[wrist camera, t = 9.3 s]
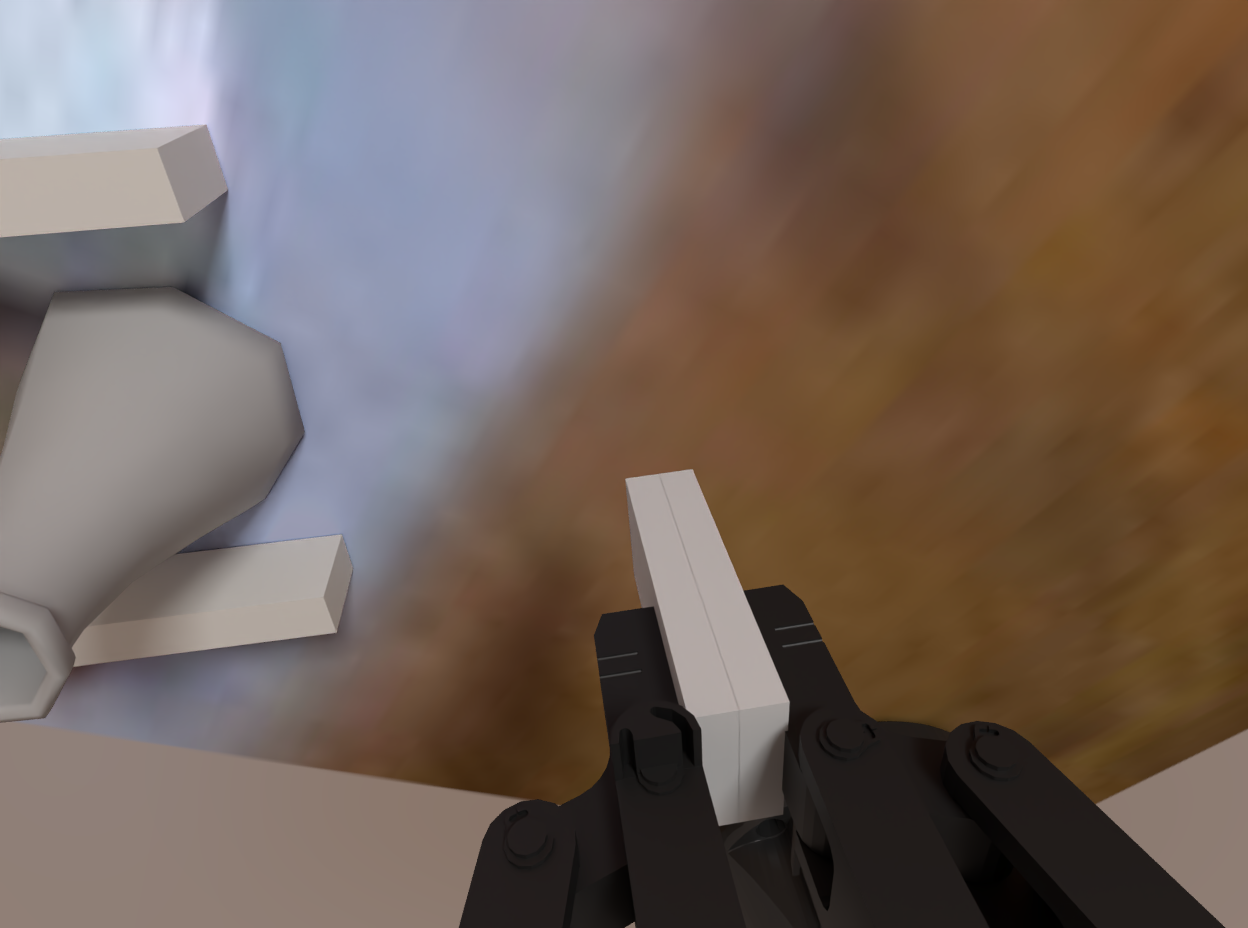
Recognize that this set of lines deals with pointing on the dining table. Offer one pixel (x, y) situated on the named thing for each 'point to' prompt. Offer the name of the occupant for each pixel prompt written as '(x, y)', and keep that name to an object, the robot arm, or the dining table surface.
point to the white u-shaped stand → (188, 582)
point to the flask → (124, 462)
